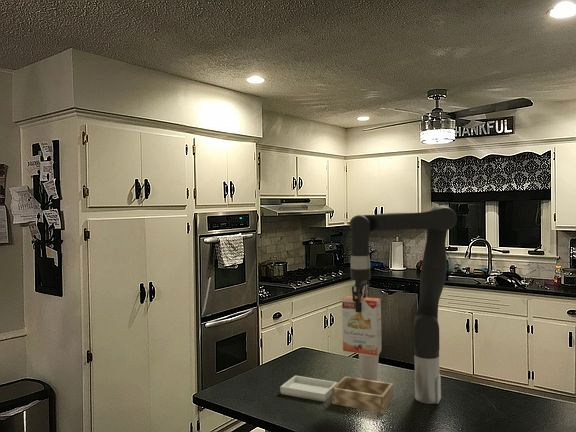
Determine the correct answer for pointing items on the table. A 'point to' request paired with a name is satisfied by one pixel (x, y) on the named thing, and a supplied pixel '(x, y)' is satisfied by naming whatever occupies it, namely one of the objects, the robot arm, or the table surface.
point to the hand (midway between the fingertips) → (361, 310)
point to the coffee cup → (368, 366)
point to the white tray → (308, 388)
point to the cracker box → (362, 326)
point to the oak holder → (363, 394)
